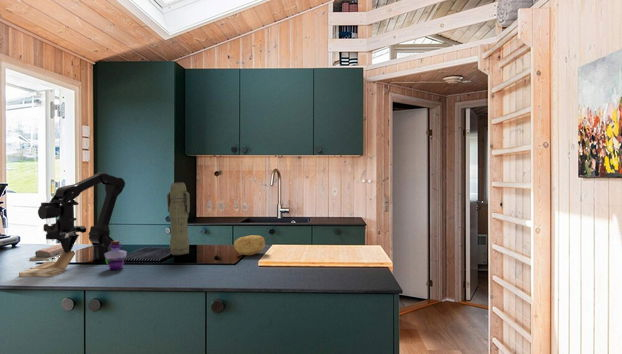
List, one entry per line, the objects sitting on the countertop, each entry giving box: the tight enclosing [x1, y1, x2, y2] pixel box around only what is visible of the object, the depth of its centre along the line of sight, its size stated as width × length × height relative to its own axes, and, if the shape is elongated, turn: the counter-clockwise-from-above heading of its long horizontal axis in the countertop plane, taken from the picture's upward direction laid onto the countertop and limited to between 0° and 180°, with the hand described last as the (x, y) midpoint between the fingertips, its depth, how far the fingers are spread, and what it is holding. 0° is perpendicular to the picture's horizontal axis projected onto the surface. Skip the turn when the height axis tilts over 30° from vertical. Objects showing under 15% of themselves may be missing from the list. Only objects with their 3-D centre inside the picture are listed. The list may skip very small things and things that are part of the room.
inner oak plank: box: [52, 250, 76, 271], centre depth 175 cm, size 5×9×1 cm
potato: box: [233, 234, 266, 256], centre depth 198 cm, size 10×14×10 cm
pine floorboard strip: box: [18, 267, 65, 277], centre depth 168 cm, size 14×7×2 cm, turn 87°
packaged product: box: [29, 243, 64, 261], centre depth 201 cm, size 18×5×10 cm
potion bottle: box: [104, 240, 128, 271], centre depth 174 cm, size 9×9×12 cm
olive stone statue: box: [166, 181, 191, 256], centre depth 203 cm, size 9×12×35 cm
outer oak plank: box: [32, 261, 56, 268], centre depth 176 cm, size 5×9×1 cm, turn 177°
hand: (67, 252), depth 178 cm, fingers closed
